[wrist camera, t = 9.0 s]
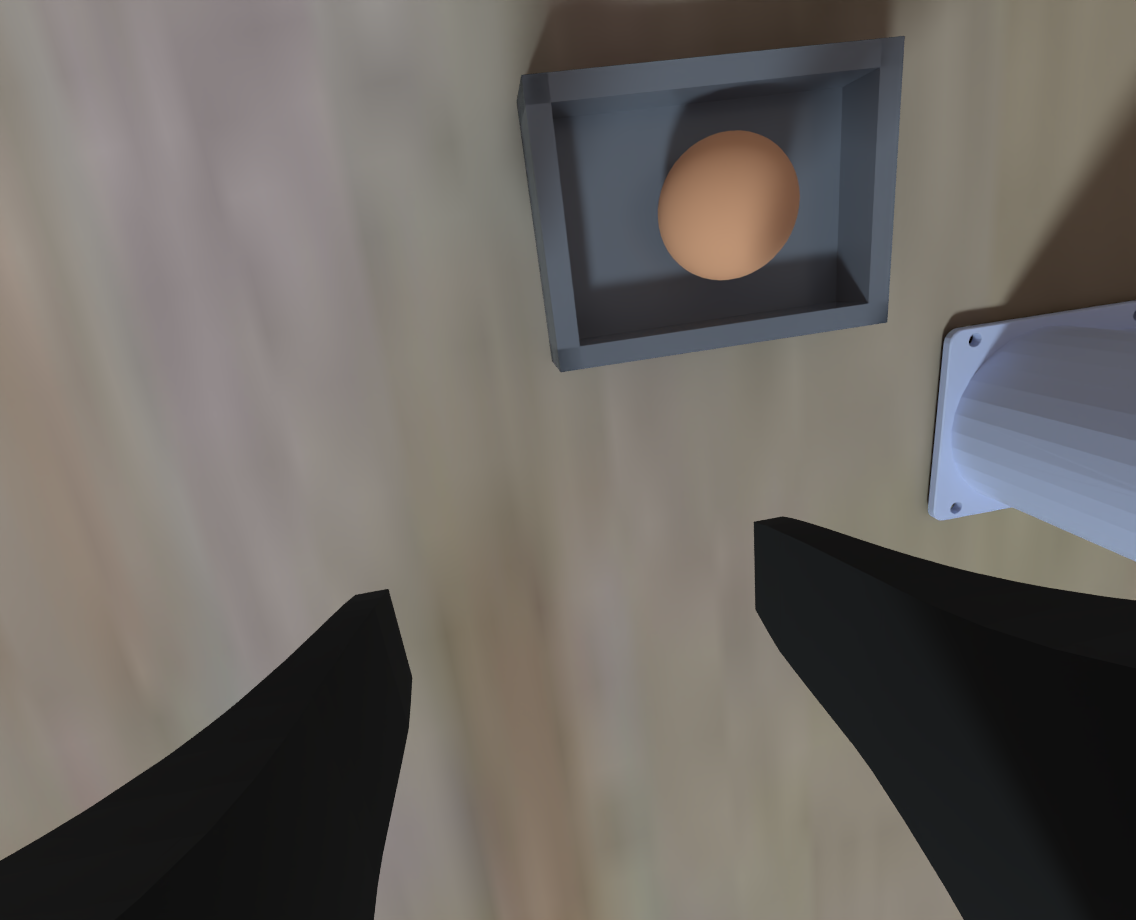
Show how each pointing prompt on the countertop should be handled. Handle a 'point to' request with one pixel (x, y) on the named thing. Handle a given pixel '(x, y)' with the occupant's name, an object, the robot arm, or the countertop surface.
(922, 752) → the robot arm
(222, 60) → the countertop surface
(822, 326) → the dish
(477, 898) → the countertop surface
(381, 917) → the countertop surface
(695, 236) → the ball
